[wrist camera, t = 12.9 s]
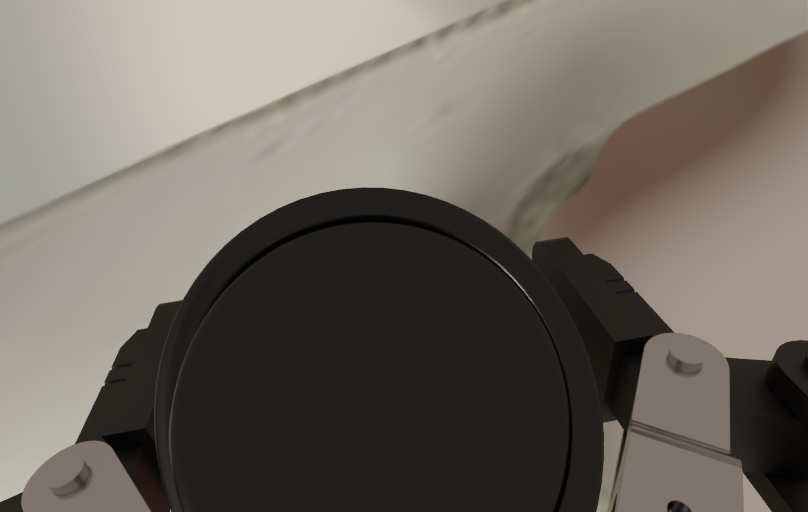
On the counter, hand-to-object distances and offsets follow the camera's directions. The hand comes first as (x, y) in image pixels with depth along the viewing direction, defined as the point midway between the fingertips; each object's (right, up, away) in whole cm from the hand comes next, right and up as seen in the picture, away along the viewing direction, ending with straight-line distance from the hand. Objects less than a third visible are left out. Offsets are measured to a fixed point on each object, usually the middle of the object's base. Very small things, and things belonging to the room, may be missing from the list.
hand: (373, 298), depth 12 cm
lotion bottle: (0, -4, +12) cm, 12 cm away
